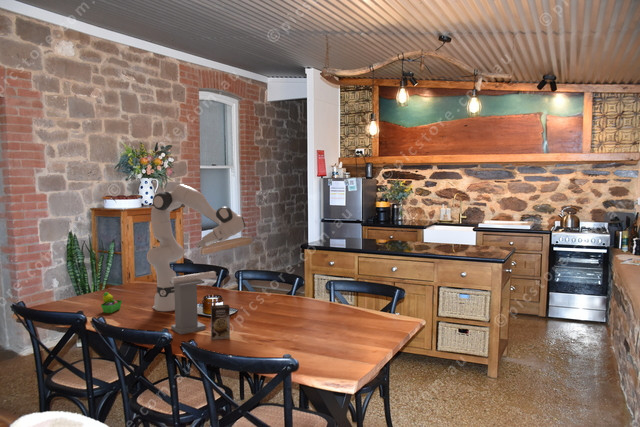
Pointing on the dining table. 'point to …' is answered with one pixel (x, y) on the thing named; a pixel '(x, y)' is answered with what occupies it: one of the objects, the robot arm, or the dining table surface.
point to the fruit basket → (110, 303)
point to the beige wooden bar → (193, 277)
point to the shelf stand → (186, 307)
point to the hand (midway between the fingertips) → (196, 246)
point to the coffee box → (220, 322)
